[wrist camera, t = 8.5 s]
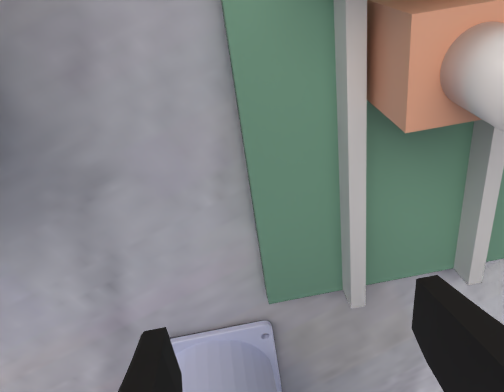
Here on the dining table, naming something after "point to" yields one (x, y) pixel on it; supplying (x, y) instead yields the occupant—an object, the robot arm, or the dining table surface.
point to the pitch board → (351, 161)
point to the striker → (436, 62)
